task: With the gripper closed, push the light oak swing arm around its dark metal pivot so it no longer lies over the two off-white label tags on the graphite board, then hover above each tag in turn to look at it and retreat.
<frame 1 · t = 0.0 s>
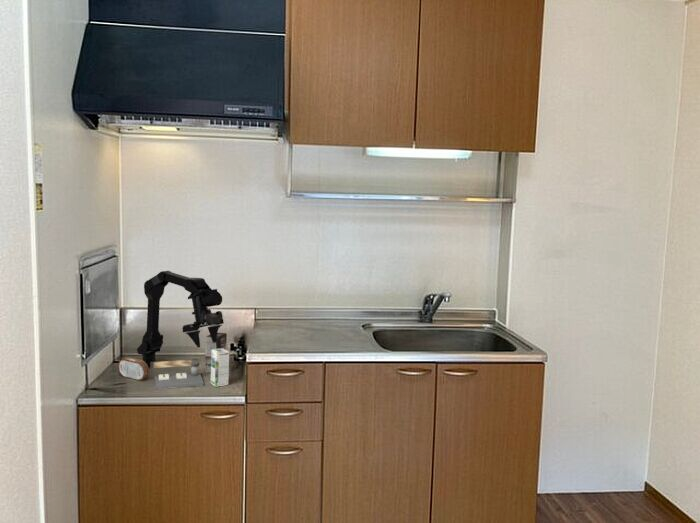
hand: (206, 345, 233), 15 cm above the countertop, tool pointing down, fingers open, 9 cm apart
tin: (133, 378, 234), on the countertop
syrup box: (219, 384, 231), on the countertop
coffee box: (215, 370, 250), on the countertop
swing arm: (175, 363, 234), point 7 cm above the countertop, hinge at 0.0°
label board: (178, 382, 231), on the countertop
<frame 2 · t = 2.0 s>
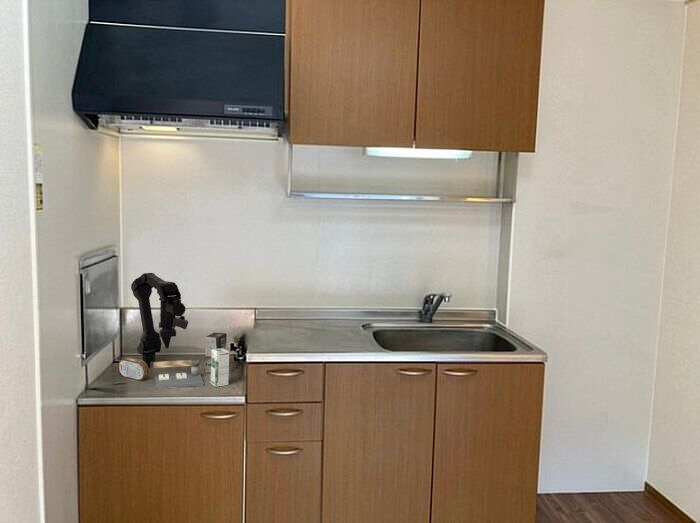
hand: (167, 348, 237), 12 cm above the countertop, tool pointing down, fingers closed
nothing on the countertop moved.
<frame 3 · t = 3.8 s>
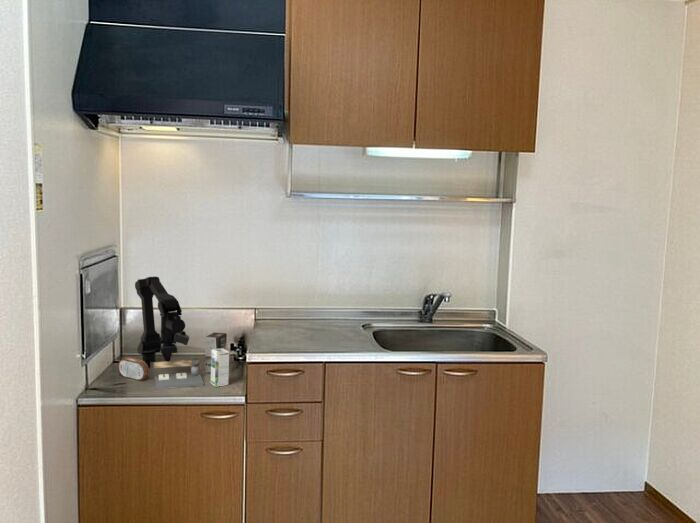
hand: (167, 364, 235), 6 cm above the countertop, tool pointing down, fingers closed
swing arm: (175, 363, 234), point 7 cm above the countertop, hinge at 0.7°, touching gripper
everything else where it was.
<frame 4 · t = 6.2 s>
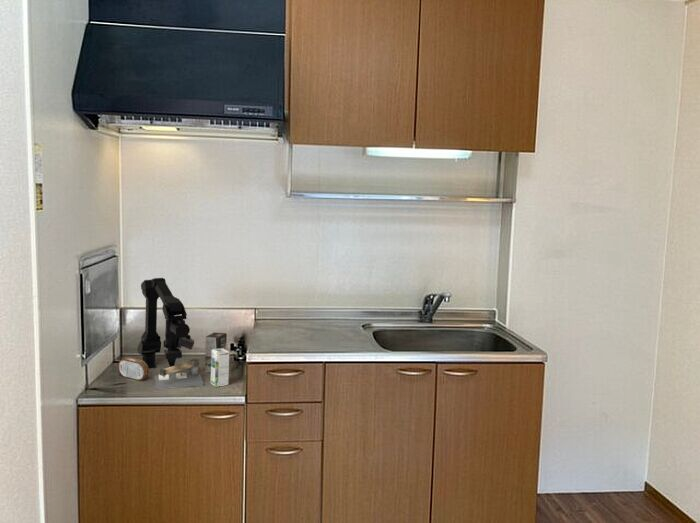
hand: (172, 368, 229), 6 cm above the countertop, tool pointing down, fingers closed
swing arm: (180, 367, 230), point 7 cm above the countertop, hinge at 39.1°, touching gripper
everything else where it was.
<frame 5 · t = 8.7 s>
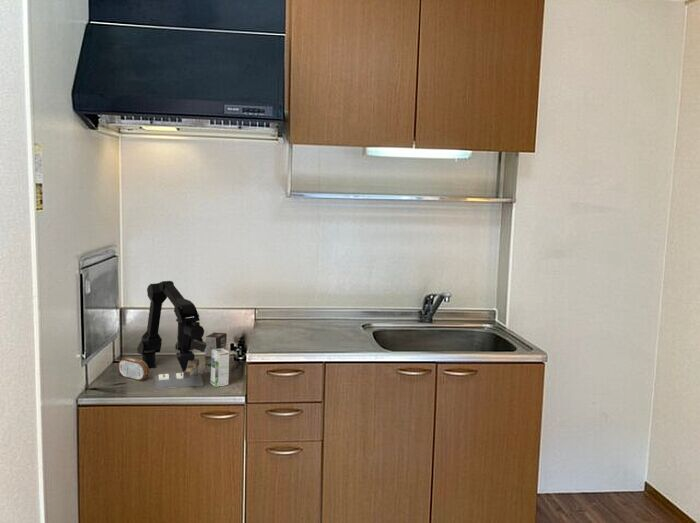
hand: (184, 371, 226), 6 cm above the countertop, tool pointing down, fingers closed
swing arm: (191, 368, 229), point 7 cm above the countertop, hinge at 74.2°, touching gripper
everything else where it was.
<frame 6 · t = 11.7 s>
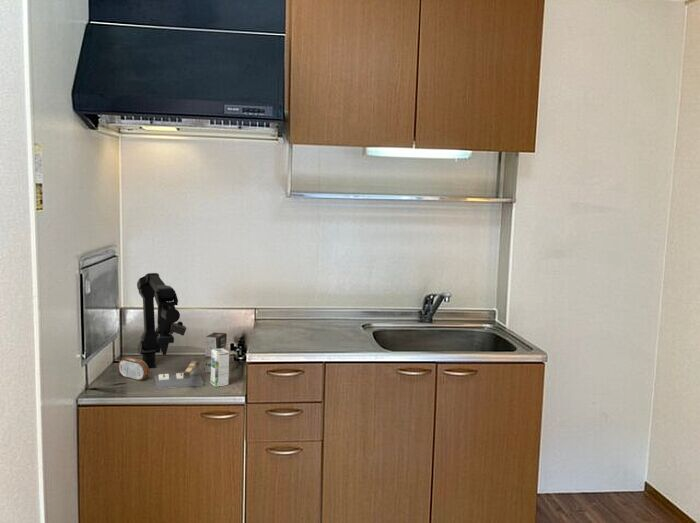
hand: (164, 354, 231), 11 cm above the countertop, tool pointing down, fingers closed
swing arm: (191, 368, 229), point 7 cm above the countertop, hinge at 74.3°
everything else where it was.
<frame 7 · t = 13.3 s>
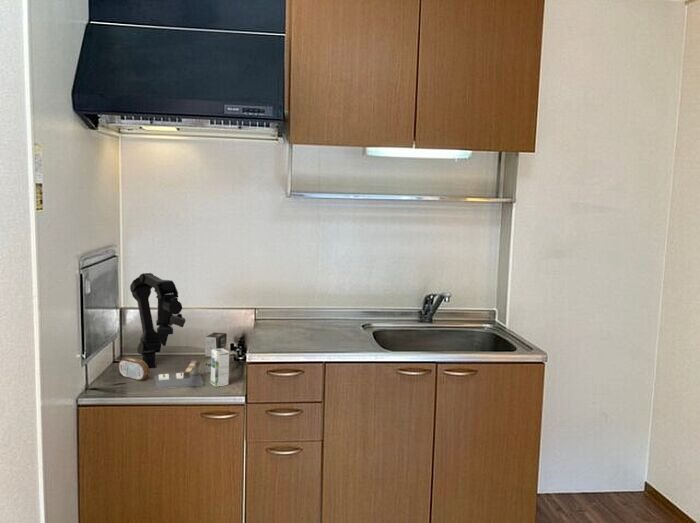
hand: (164, 345, 238), 13 cm above the countertop, tool pointing down, fingers closed
nothing on the countertop moved.
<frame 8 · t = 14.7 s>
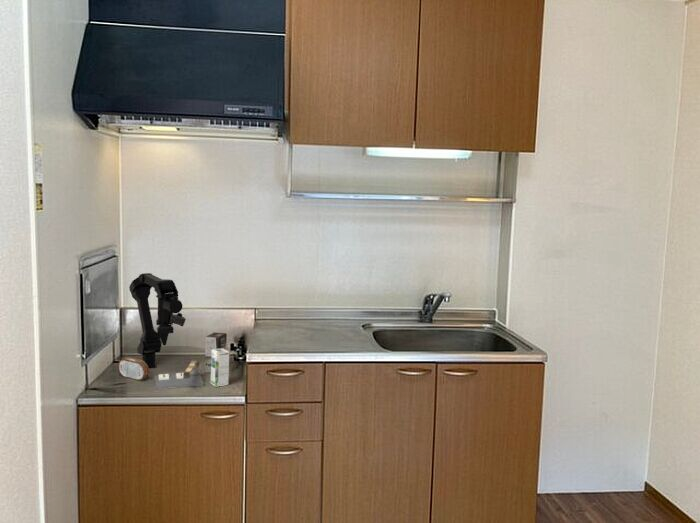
hand: (164, 345, 239), 13 cm above the countertop, tool pointing down, fingers closed
nothing on the countertop moved.
at the end: swing arm at +74° (first picture: +0°); tin moved 0.3 cm from its start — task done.
